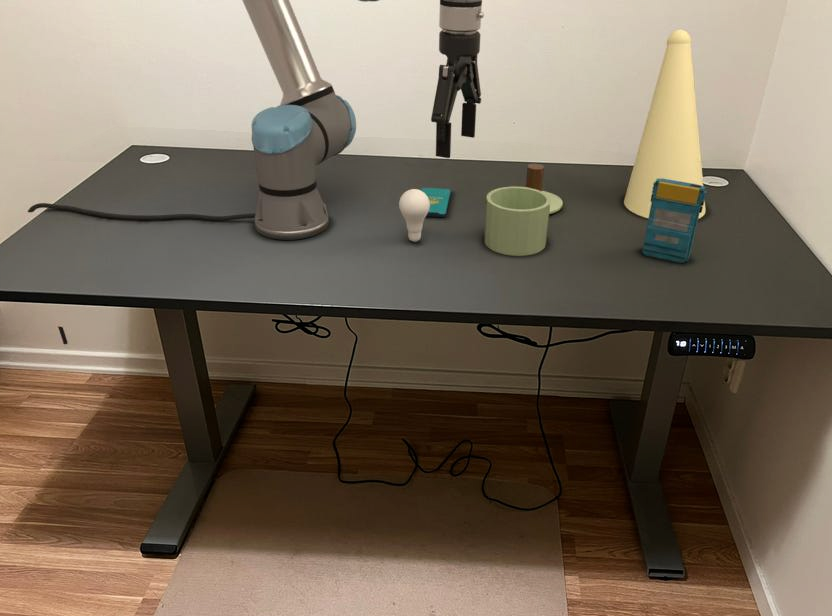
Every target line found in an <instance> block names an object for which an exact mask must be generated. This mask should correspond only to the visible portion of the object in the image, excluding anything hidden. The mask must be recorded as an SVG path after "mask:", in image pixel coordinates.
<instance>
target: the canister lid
mask: <svg viewBox="0 0 832 616" xmlns="http://www.w3.org/2000/svg"><path fill="white" fill-rule="evenodd" d="M526 167H527V168H526V180H525V187H527V188H532V189H536V190H539V191H541V192H544V193H545V194H547V195H548V196H549V197H550V199H551V203H550V212H549V215H551V214H554V213H557V212H559V211H560V210H562V208H563V204H564V203H563V200H562V198H561V197H560V196H559V195H556V194H554V193H552V192H549V191H545V190H543V181H544V172H545V171H544V170H545V166H544V165H543V164H540V163H529V164H527V166H526Z"/></svg>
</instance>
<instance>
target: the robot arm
mask: <svg viewBox="0 0 832 616" xmlns="http://www.w3.org/2000/svg"><path fill="white" fill-rule="evenodd" d="M241 1H242V3H243V5H244V7H245V10H246V12H247V14H248V17H249V19H250V21H251V23H252V26H253V28H254V30H255V33H256V35H257V37H258V39H259V43H260V44H261V47H262V48H263V51H264V54H265V56H266V58H267V60H268V62H269V65H270V67H271V70H272V71H273V74H274V76H275V79H276V81H277V83H278V85H279V88H280V90H281V92H282V98H281V101H280V104H279V105H277V106H270V107H267V108H266V109H265V108H264V109H262V110H261V111H260V112H258V113H257V114H255V116H254V117H253V119H252V120H251V144H252V146H253V154H254V160H255V167H256V168H255V169H256V174H257V175H256V176H257V181H258V189H259V195H258V199H257V204H256V208H255V209H256V210H255V212H254V213H253V212H252V213H240V214H239V213H238V214H232V215H207V214H197V213H176V214H175V213H174V214H157V215H152V214H151V215H149V214H147V215H145V214H144V215H142V214H136V215H135V214H122V213H121V214H119V213H110V212H102V211H97V210H91V209H85V208H81V207H77V206H70V205H63V204H62V205H61V204H54V203H47V202H40V203H36V204H33V205H32V206H30V207H29V208H28V209H27V213H33V212H35V211H36V210H38V209H42V208H43V209H53V210H60V211H69V212H75V213H79V214H84V215H90V216H94V217H101V218H107V219H117V220H128V221H129V220H131V221H164V220H181V219H182V220H183V219H185V220H186V219H188V220H189V219H190V220H203V221H213V222H225V221H233V220H234V221H235V220H243V219H245V220H247V219H254V226H255V230H256V232H257V233H258V234H259V235H260V236H263V237H265V238H268V239H272V240H280V241H296V240H303V239H308V238H312V237H314V236H317V235H320V234H321V233H323V232H324V231H326V229H328V228H329V225H330V220H329V212H328V209H327V206H326V204H325V202H324V200H323V199H322V196H321V194H320V191H319V189H318V183H317V169H316V166H318V165H321V164H322V163H323V162H325V161H327V160H328V159H330V158H332V157H334V156H336V155H339V154H341V153H342V152H343V151H344V150H345V149H346V148H348V147H349V146H350V145H351V143H352V142H353V141H354V138H355V135H356V132H357V119H356V115H355V112H354V109H353V108H352V105H351V104H350V103H349V101H347V100H346V99H343V97H342V96H340V95H338V94H336V92H335V90H334V86H333V85H332V83H330V82H328V81H327V80H325V79H323V78H322V77H321V74H320V72H319V70H318V67H317V65H316V63H315V60H314V58H313V55H312V53H311V50H310V48H309V45H308V43H307V41H306V38H305V36H304V33H303V32H302V29H301V26H300V24H299V21H298V19H297V16H296V14H295V11H294V9H293V7H292V4H291V1H290V0H241ZM358 1H359V2H364V3H365V2H367V3H368V2H378V1H380V0H358ZM482 5H483V0H439V15H438V16H439V19H438V26H439V28H440V29H441V30H440V32H438V37H439V38H438V51H439V53H440V54H442V55H445V56H446V64H439V67H438V79H437V85H436V90H435V95H434V100H433V107H432V110H431V117H430V121H431V123H436V125H435V127H436V128H435V133H436V134H435V157H437V158H444V159H450V158H451V148H452V122H450V120H451V117H452V114H453V109H454V106H455V102H456V99H457V95H458V92H459V91H461V94H462V98H463V100H464V102H463V103H462V106H461V109H462V110H461V127H460V129H461V130H460V131H461V133H460V136H461V137H466V138H475V137H476V120H477V105H478V104H481V103H482V98H481V96H482V91H481V83H480V75H479V67H478V66H479V65H478V54H480V51H481V33H480V31H479V30H480V29H481V25H482V19H484V17H485V13H484V12H483V11H482ZM57 328H58V331H59V334H60V337H61V341H62V343H63V345H68V344H69V342H68V339H67V337H66V333H65V330H64V326H57Z"/></svg>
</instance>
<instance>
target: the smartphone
mask: <svg viewBox="0 0 832 616" xmlns="http://www.w3.org/2000/svg"><path fill="white" fill-rule="evenodd" d="M419 190H421V191H422V192H424V193H425V194H426V195H427V197H428V199H429V202H430V208H429V211H428V213H427V215H426V217H433V218H445V217H446V216H447V213H448V208H449V204H450V199H451V194H452V190H451V189H450V188H437V187H435V188H434V187H433V188H432V187H421V188H420V189H419Z"/></svg>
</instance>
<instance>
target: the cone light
mask: <svg viewBox="0 0 832 616" xmlns="http://www.w3.org/2000/svg"><path fill="white" fill-rule="evenodd" d="M659 69H660V70H659V74H658V77H657V81H656V85H655V87H654V91H653V95H652V99H651V103H650V106H649V110H648V113H647V116H646V120H645V123H644V128H643V131H642V135H641V138H640V142H639V146H638V148H637V153H636V156H635V161H634V164H633V167H632V171H631V174H630V178H629V182H628V185H627V189H626V192H625V195H624V200H623V205H624V206H625V208H626V209H627V210H628V211H630V212H631V213H633V214H635V215H637V216H640V217H642V218H646V219H649V213H650V208H651V203H652V202H651V196H652V194H653V193H652V190H653V184H654V182H656V180H657V178H659V179H662V178H663V179H669V180H674V181H680V182H686V183H691V184H697V185H702V186H704V178H703V177H704V176H703V167H702V155H701V144H700V133H699V121H698V112H697V99H696V89H695V78H694V77H695V76H694V67H693V55H692V38H691V35H690V34H689V32H688V31H686V30H684V29H677V30H674V31H673V32H671V34H669V36H668V38H667V39H666V48H665V53H664V55H663V58H662V63H661V66H660V68H659ZM702 207H703V208H702V212H701V213H700V214H699V218H698V220H699V219H701V218H702V217H704V216H705V215H706V212H707V211H706V200H705V201H704V204H703V206H702Z"/></svg>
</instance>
